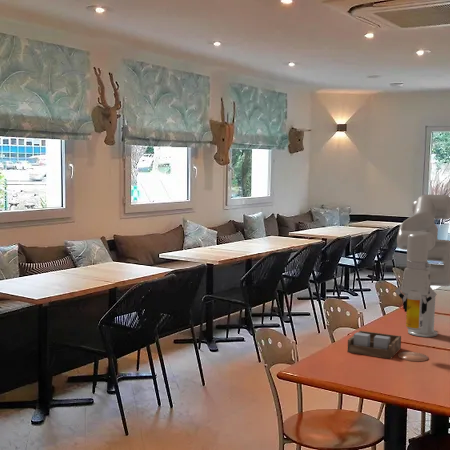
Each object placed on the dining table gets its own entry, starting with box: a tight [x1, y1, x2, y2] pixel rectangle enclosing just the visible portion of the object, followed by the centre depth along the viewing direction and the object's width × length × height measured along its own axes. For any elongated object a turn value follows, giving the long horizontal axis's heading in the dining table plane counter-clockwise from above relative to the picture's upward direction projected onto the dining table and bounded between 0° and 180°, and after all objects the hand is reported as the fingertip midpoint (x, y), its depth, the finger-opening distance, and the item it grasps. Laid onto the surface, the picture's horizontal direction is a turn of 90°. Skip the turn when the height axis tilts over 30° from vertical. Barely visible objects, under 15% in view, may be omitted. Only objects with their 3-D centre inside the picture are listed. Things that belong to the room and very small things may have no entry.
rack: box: [347, 330, 402, 360], centre depth 250 cm, size 17×17×5 cm
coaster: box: [397, 351, 429, 363], centre depth 241 cm, size 11×11×1 cm
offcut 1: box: [353, 331, 370, 347], centre depth 248 cm, size 4×6×7 cm
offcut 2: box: [374, 335, 390, 350], centre depth 244 cm, size 4×6×7 cm
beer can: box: [405, 291, 423, 330], centre depth 239 cm, size 6×6×15 cm
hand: (414, 311), depth 239 cm, fingers closed on beer can, 5 cm apart
